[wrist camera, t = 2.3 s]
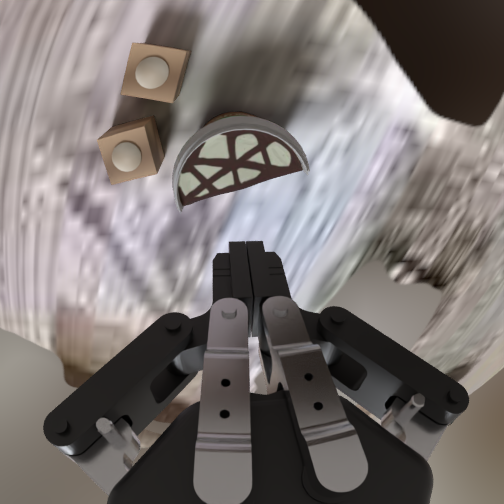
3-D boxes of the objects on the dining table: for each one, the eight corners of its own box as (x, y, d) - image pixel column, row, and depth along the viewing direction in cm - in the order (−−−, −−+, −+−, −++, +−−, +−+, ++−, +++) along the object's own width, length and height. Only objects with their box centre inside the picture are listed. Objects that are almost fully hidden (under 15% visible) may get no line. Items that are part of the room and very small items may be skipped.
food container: (276, 87, 30) (298, 103, 22) (290, 139, 34) (314, 173, 26) (165, 122, 31) (145, 151, 23) (184, 171, 35) (174, 215, 27)
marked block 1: (144, 43, 26) (131, 42, 22) (191, 51, 27) (186, 51, 23) (133, 87, 28) (119, 94, 24) (179, 95, 30) (172, 103, 26)
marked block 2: (112, 126, 31) (96, 140, 27) (154, 115, 31) (143, 126, 27) (123, 166, 34) (111, 185, 30) (164, 156, 34) (156, 174, 30)
